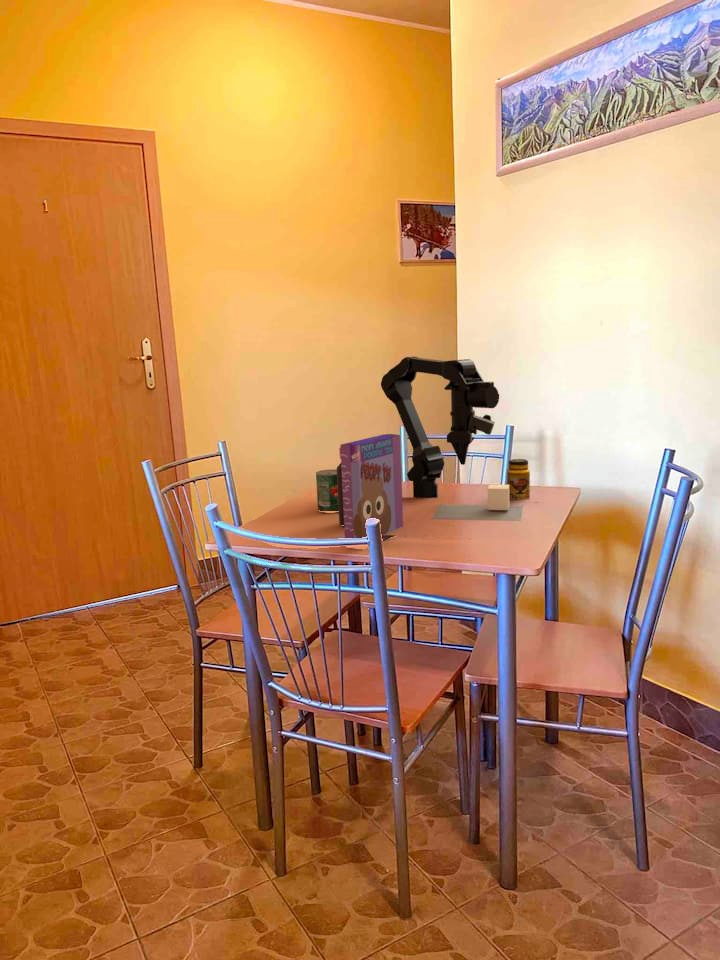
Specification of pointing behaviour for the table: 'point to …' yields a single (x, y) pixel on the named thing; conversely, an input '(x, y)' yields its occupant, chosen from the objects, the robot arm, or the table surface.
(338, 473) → the bottle
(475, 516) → the base plate
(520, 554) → the table surface
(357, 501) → the cereal box
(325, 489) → the canned tomato
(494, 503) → the cream colored cube
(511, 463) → the condiment
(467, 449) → the robot arm
